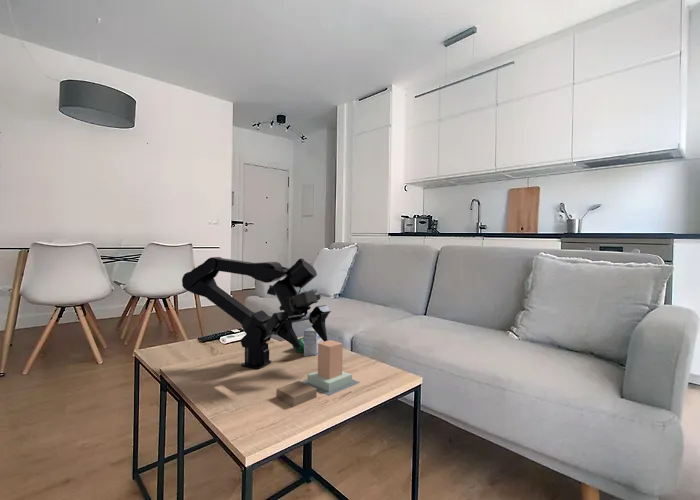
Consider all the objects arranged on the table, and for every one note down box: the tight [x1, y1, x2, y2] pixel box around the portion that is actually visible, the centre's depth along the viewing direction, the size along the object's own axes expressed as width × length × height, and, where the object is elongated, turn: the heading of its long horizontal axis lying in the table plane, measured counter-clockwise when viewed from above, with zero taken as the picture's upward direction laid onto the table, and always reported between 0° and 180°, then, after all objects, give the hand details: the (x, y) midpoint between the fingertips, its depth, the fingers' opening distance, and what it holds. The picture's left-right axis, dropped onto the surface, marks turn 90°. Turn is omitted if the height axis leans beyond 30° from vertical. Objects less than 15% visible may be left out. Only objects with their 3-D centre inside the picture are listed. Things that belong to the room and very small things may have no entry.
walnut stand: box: [275, 380, 318, 407], centre depth 82 cm, size 6×6×3 cm
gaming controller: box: [292, 336, 304, 355], centre depth 122 cm, size 9×4×6 cm
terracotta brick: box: [317, 339, 344, 379], centre depth 91 cm, size 4×4×8 cm
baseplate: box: [301, 378, 361, 397], centre depth 91 cm, size 11×11×1 cm
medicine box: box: [303, 326, 324, 358], centre depth 116 cm, size 8×4×9 cm, turn 165°
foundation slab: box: [307, 370, 353, 392], centre depth 91 cm, size 8×8×2 cm
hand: (313, 344), depth 95 cm, fingers open, 9 cm apart
